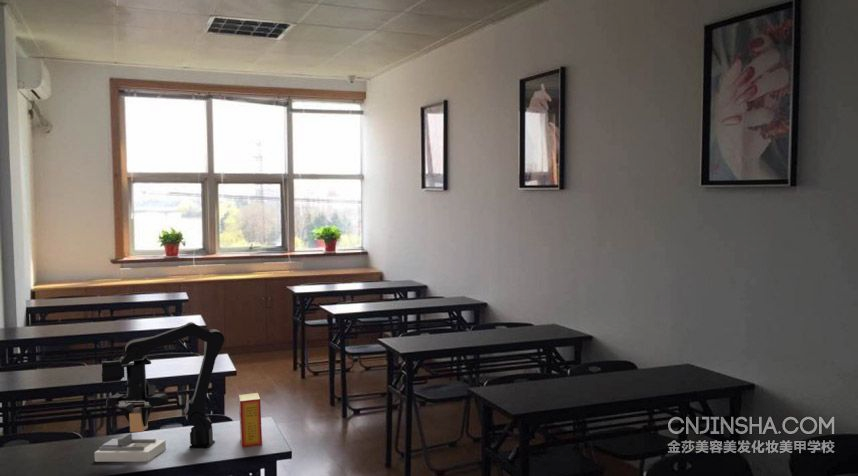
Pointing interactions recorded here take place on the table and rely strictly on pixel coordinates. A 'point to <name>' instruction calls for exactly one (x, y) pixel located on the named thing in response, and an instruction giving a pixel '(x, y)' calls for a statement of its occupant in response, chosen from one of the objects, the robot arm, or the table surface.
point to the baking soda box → (250, 420)
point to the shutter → (119, 441)
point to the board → (131, 451)
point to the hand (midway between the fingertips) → (138, 426)
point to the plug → (136, 420)
